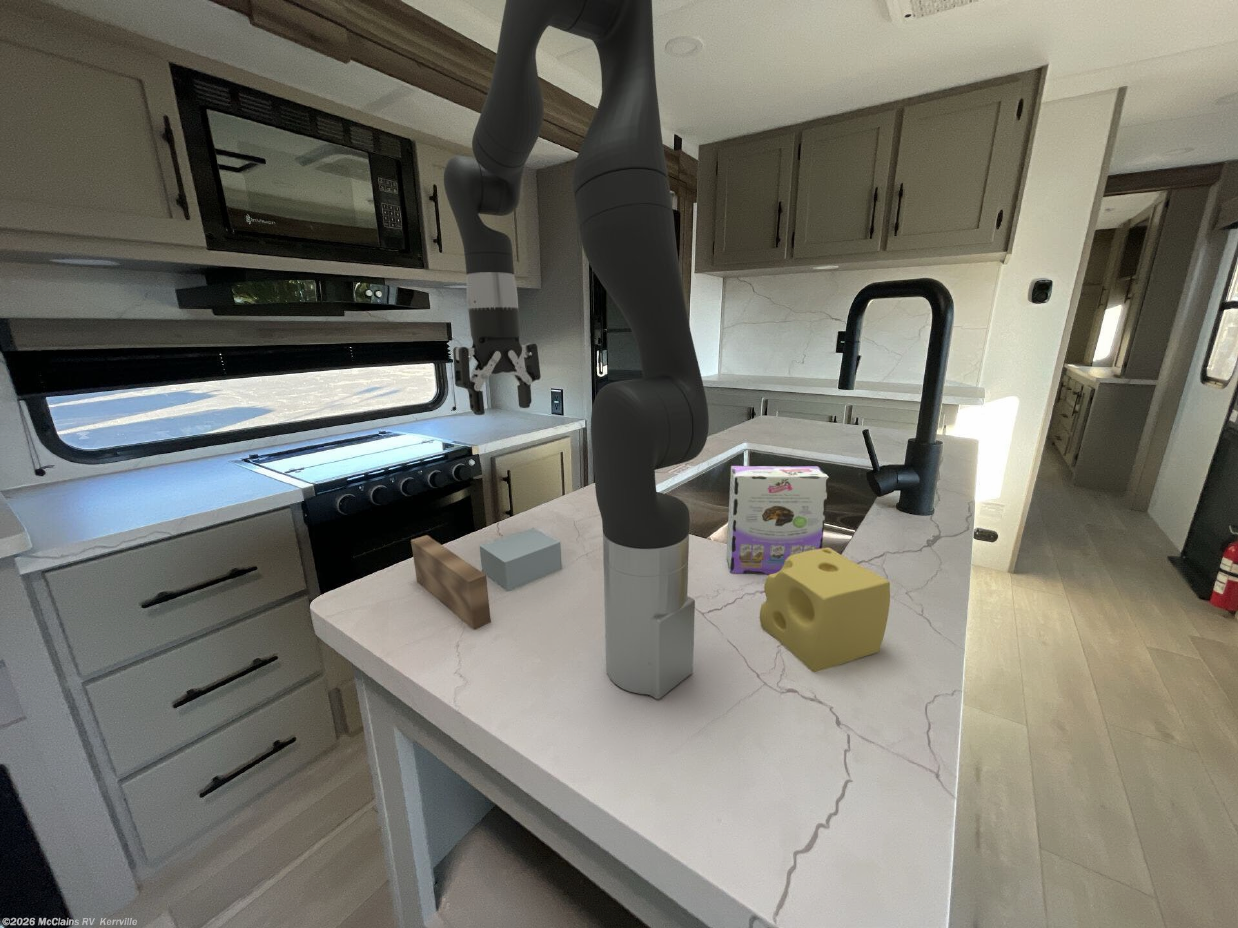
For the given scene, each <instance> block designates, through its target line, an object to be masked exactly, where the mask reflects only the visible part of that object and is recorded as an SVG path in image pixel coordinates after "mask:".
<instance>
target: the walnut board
mask: <svg viewBox="0 0 1238 928" xmlns="http://www.w3.org/2000/svg"><path fill="white" fill-rule="evenodd" d="M410 544H411V549H412V550H411V551H412V558H413V564H414V570H415V578H416V581H417V583H418V584H420V585H421V586H423V588H425V590H426V591H428V593H430V594H431V595H432V596H434V598H436V599H437V600H438V601H440V602H441V604H443V605H445V606H446V607H447V608H448V609H449V610H450V611H451V612H453V613H454V614H455V615H456V616H457V617H459V619H461V620H462V621H463V622H465V624H467V625H468V626H469V627H470V628H471V629H473V630H475V629H478V628H480V627H482V626H485V625H486V624H489V623H491V622H492V620H491V611H490V601H489V599H490V598H489V591H488V589H489V587H488V581H487V580H488V579H487V576H486V575H485V574H484V573H482V570H479V569H478V568H477V567H475V566H473V565H472V564H471V563H469V562H468V561H466V560H465V559H463V558H461V557H460V556H459V555H457V554H455V553H454V552H453V551H451V550H450V549H448V548H447V547H445V546H444V545H442V544H441V543H440V542H438V541H436V540H435V539H433V538H432V537H431V536H430V535H428V534H426V535H423V536H420V537H416V538H412V539H411V540H410Z"/></svg>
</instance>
